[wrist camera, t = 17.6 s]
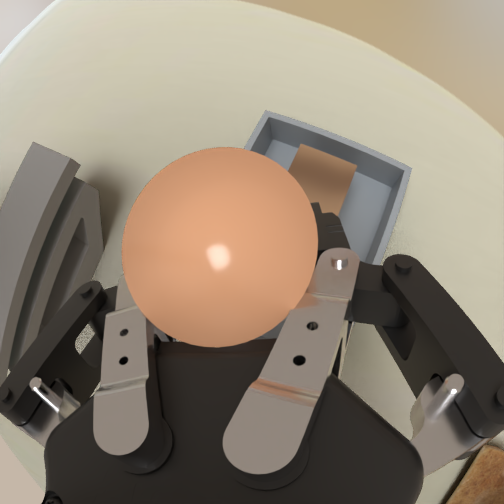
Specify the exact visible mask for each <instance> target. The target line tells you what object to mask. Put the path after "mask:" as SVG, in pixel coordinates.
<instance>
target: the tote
mask: <svg viewBox="0 0 504 504" xmlns="http://www.w3.org/2000/svg"><path fill="white" fill-rule="evenodd" d="M300 144H304V145H306V146H309V147H312V148H314V149H317V150H320V151H322V152H325V153H328V154H330V155H333V156H335V157H338V158H340V159H343V160H345V161H347V162H350V163H352V164H355V165H357V168H356V171H355V173H354V176H353V179H352V181H351V184H350V186H349V189H348V192H347V194H346V197H345V199H344V202H343V204H342V207H341V209H340V212H339V214H338V217H339V218H340V221H341V224H342V226H343V229H344V232H345V234H346V237H347V240H348V243H349V245H350V248H351V250H352V251H354V252H355V253H357V255H358V256H359V259H360V261H362V262H365V263H368V264H373V265H380V263H381V261H382V258H383V255H384V253H385V250H386V247H387V245H388V242H389V239H390V236H391V234H392V231H393V228H394V225H395V222H396V219H397V216H398V213H399V210H400V207H401V204H402V201H403V197H404V194H405V191H406V188H407V184H408V181H409V177H410V174H411V170H412V168H411V167H409V166H407V165H405V164H403V163H401V162H399V161H397V160H395V159H392V158H390V157H388V156H386V155H384V154H382V153H379V152H377V151H375V150H373V149H370V148H368V147H366V146H363V145H361V144H359V143H356V142H354V141H352V140H349V139H347V138H344V137H342V136H339V135H337V134H334V133H331V132H329V131H326V130H323V129H321V128H318V127H315V126H312V125H310V124H307V123H304V122H301V121H298V120H295V119H292V118H289V117H286V116H283V115H280V114H276V113H273V112H270V111H267V110H265V112H264V114H263V115H262V117H261V119H260V121H259V122H258V124H257V126H256V128H255V129H254V131H253V133H252V135H251V136H250V138H249V140H248V142H247V144H246V145H245V147H244V149H245V150H249V151H253V152H256V153H259V154H261V155H264V156H266V157H268V158H269V159H271V160H273V161H275V162H276V163H278V164H279V165H280V166H282V167H283V168H284V169H286V170H287V171H288V170H289V168H290V165H291V163H292V161H293V159H294V157H295V155H296V153H297V151H298V149H299V147H300ZM307 288H308V287H307ZM306 290H307V289H306ZM286 318H287V317H286ZM286 318H285V319H284V320H283V321H281V322H280V323H279V324H278V325H277V326H275V327H274V328H273V329H271V330H270V331H268V332H266V333H265V334H263V335H261V336H260V337H257V338H255V339H253V340H256V339H272V338H278V336H279V334H280V332H281V329H282V327H283V325H284V323H285V321H286ZM354 324H355V322H354V323H353V326H354ZM352 328H353V327H352Z"/></svg>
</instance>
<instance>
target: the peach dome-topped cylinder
mask: <svg viewBox="0 0 504 504" xmlns="http://www.w3.org/2000/svg"><path fill="white" fill-rule="evenodd" d="M317 250H318V233H317V225H316V220H315V216H314V212H313V209H312V207H311V204H310V202H309V199H308V198H307V196H306V194H305V192H304V190H303V189H302V187H301V186H300V185H299V183H298V182H297V181H296V179H295V178H294V177H293V176H292V175H291V174H290V173H289V172H288V171H287V170H286V169H284V168H283V167H282V166H280V165H279V164H278V163H276V162H275V161H273V160H271V159H269V158H268V157H266V156H264V155H261V154H259V153H256V152H253V151H249V150H245V149H240V148H232V147H218V148H210V149H204V150H201V151H197V152H194V153H191V154H188V155H186V156H183V157H181V158H180V159H178V160H176V161H174V162H172V163H171V164H169V165H168V166H166V167H165V168H164V169H162V170H161V171H160V172H159V173H158V174H157V175H155V176H154V177H153V178H152V179H151V180H150V182H149V183H148V184H147V185H146V186H145V187H144V189H143V190H142V192H141V193H140V194H139V196H138V197H137V199H136V201H135V203H134V205H133V206H132V209H131V211H130V213H129V216H128V218H127V222H126V225H125V229H124V234H123V240H122V265H123V271H124V276H125V280H126V283H127V286H128V289H129V291H130V293H131V295H132V297H133V299H134V301H135V303H136V304H137V306H138V307H139V309H140V310H141V312H142V313H143V314H144V315H145V316H146V317H147V319H148V320H149V321H150V322H152V323H153V324H154V325H155V326H156V327H157V328H158V329H160V330H161V331H163V332H164V333H166V334H167V335H169V336H171V337H173V338H175V339H177V340H179V341H182V342H185V343H188V344H192V345H197V346H203V347H226V346H233V345H237V344H241V343H245V342H248V341H250V340H253V339H255V338H257V337H260V336H261V335H263V334H265V333H266V332H268V331H270V330H271V329H273V328H274V327H275V326H277V325H278V324H279V323H280V322H281V321H283V320H284V319H285V318H286V317H287V316H288V314H289V312H290V310H291V309H294V308H295V307H296V305H297V304H298V302H299V301H300V300H301V298H302V297H303V295H304V293H305V292H306V289H307V287H308V285H309V283H310V280H311V277H312V275H313V272H314V268H315V264H316V259H317Z"/></svg>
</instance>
